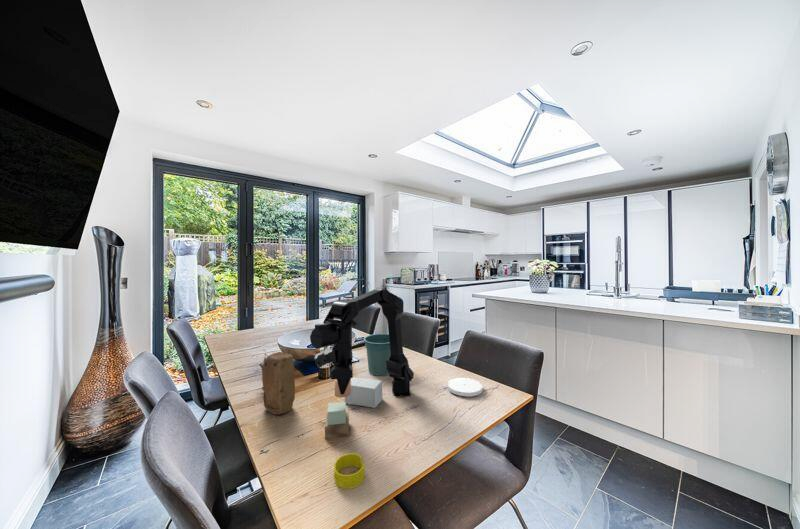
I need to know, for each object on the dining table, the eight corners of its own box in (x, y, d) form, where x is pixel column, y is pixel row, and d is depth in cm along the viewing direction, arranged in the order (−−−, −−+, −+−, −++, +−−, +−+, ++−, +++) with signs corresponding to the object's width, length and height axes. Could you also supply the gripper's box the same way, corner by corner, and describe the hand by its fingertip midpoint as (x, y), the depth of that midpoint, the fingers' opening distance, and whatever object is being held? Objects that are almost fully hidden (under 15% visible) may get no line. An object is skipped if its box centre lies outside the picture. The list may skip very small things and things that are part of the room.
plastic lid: (458, 401, 110) (458, 395, 110) (441, 386, 123) (441, 380, 123) (489, 395, 114) (489, 389, 114) (470, 381, 128) (470, 375, 128)
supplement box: (344, 403, 108) (374, 408, 104) (344, 383, 108) (374, 388, 104) (353, 395, 115) (382, 399, 111) (353, 376, 115) (382, 380, 111)
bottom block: (348, 424, 95) (348, 412, 95) (348, 437, 88) (348, 424, 88) (327, 426, 94) (327, 414, 94) (325, 439, 87) (324, 426, 87)
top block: (345, 413, 94) (345, 401, 94) (345, 423, 89) (345, 410, 89) (328, 415, 93) (328, 403, 93) (327, 425, 88) (327, 412, 88)
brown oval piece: (350, 389, 94) (350, 376, 94) (350, 396, 89) (350, 382, 89) (335, 390, 94) (335, 377, 94) (334, 398, 89) (334, 383, 89)
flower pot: (397, 378, 131) (397, 342, 131) (361, 378, 131) (361, 343, 131) (398, 364, 148) (398, 333, 147) (366, 365, 148) (366, 333, 148)
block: (297, 408, 105) (296, 353, 105) (279, 418, 99) (278, 360, 98) (277, 401, 111) (276, 349, 110) (259, 410, 104) (258, 355, 104)
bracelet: (337, 493, 67) (337, 479, 67) (331, 470, 74) (331, 458, 74) (368, 483, 70) (367, 470, 70) (359, 462, 77) (358, 450, 77)
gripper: (319, 335, 99) (319, 380, 99) (312, 351, 81) (312, 406, 81) (352, 333, 101) (352, 378, 101) (352, 349, 83) (352, 403, 83)
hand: (342, 390), depth 92 cm, fingers closed on brown oval piece, 5 cm apart
